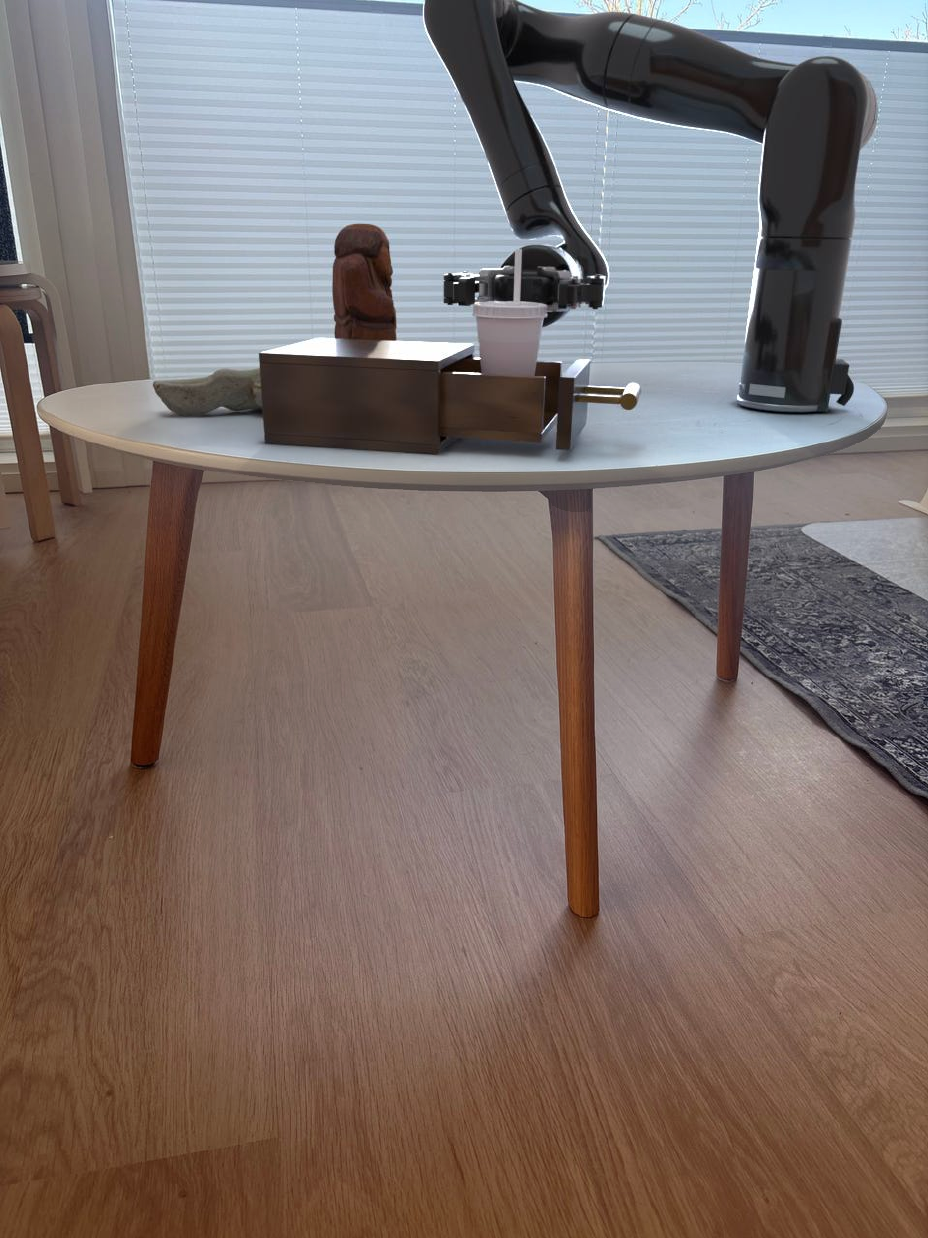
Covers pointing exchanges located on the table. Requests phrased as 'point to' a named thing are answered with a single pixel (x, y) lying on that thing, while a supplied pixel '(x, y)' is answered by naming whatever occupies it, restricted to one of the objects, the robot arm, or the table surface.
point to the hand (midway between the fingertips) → (512, 293)
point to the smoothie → (509, 331)
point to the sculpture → (212, 392)
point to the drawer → (522, 402)
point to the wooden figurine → (363, 284)
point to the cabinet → (357, 393)
